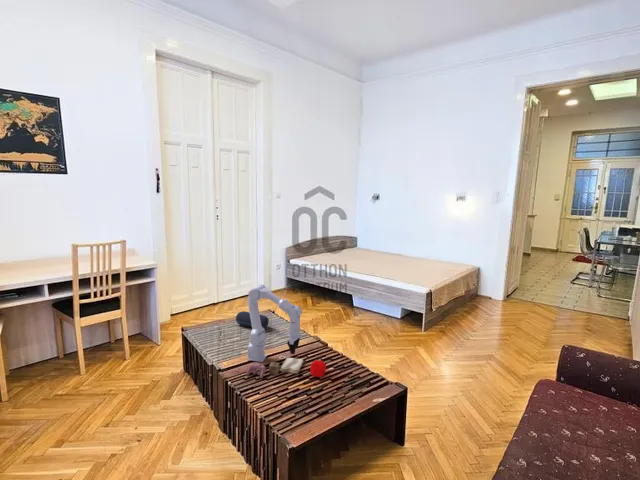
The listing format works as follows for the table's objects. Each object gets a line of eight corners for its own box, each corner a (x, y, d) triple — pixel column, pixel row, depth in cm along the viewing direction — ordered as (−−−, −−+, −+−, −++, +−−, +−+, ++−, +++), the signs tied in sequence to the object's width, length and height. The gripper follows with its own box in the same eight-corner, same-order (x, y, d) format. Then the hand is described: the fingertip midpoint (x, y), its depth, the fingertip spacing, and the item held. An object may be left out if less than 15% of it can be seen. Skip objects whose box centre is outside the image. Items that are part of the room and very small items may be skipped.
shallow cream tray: (280, 371, 188) (280, 367, 187) (286, 360, 199) (286, 357, 199) (298, 373, 186) (298, 369, 186) (303, 362, 198) (303, 359, 197)
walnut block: (268, 374, 185) (269, 365, 184) (271, 370, 189) (271, 361, 188) (276, 375, 184) (276, 366, 183) (279, 371, 188) (279, 362, 187)
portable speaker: (271, 327, 245) (271, 314, 243) (263, 332, 236) (263, 319, 234) (242, 321, 255) (242, 308, 253) (234, 326, 246) (234, 312, 244)
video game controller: (265, 378, 183) (267, 365, 185) (261, 379, 179) (264, 365, 181) (249, 374, 186) (252, 361, 188) (245, 375, 182) (248, 361, 184)
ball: (323, 380, 180) (324, 366, 179) (309, 378, 182) (309, 365, 181) (326, 372, 188) (326, 359, 187) (312, 370, 190) (312, 357, 188)
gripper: (298, 334, 182) (298, 357, 184) (304, 323, 196) (303, 345, 198) (286, 332, 183) (285, 356, 185) (292, 322, 197) (292, 344, 199)
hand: (294, 350), depth 192 cm, fingers open, 7 cm apart
